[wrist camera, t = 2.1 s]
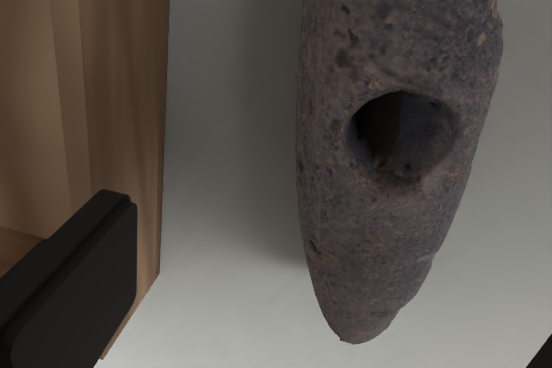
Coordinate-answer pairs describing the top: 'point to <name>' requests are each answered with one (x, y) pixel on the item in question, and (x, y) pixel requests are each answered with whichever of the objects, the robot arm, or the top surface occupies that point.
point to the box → (81, 119)
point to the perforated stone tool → (386, 144)
